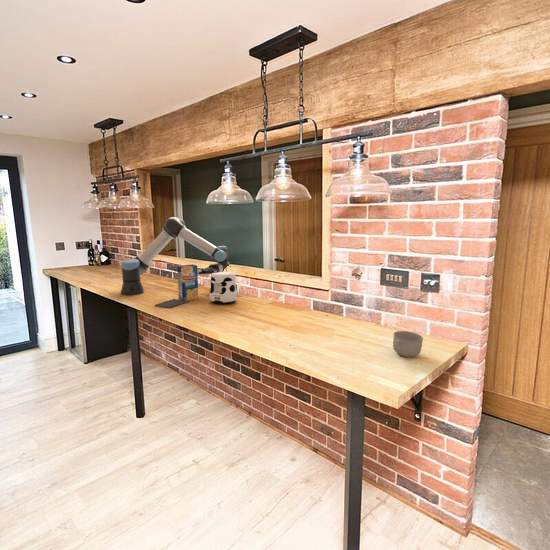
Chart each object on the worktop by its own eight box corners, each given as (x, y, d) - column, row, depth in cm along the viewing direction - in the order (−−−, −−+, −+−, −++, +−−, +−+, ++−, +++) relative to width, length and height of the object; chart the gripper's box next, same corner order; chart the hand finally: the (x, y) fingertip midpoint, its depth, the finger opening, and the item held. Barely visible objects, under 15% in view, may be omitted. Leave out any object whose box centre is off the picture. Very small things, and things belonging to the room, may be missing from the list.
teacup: (405, 347, 149) (407, 329, 148) (428, 356, 140) (429, 336, 138) (380, 354, 143) (381, 334, 141) (402, 363, 133) (403, 342, 132)
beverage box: (178, 298, 238) (177, 265, 235) (194, 296, 244) (193, 264, 241) (182, 300, 233) (180, 266, 229) (198, 298, 239) (197, 265, 235)
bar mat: (154, 306, 219) (154, 304, 219) (174, 300, 235) (174, 298, 235) (170, 308, 214) (170, 306, 214) (189, 301, 230) (189, 300, 230)
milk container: (233, 298, 240) (233, 271, 237) (240, 304, 224) (239, 275, 221) (207, 300, 234) (206, 272, 232) (212, 306, 218) (211, 276, 215)
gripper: (223, 274, 259) (203, 280, 238) (207, 273, 265) (187, 278, 244) (222, 264, 258) (202, 268, 237) (207, 263, 264) (186, 267, 243)
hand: (194, 273), depth 240 cm, fingers closed
